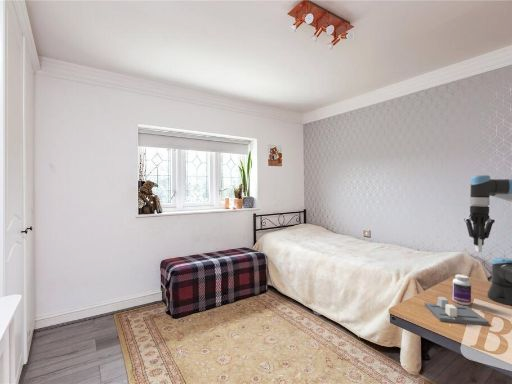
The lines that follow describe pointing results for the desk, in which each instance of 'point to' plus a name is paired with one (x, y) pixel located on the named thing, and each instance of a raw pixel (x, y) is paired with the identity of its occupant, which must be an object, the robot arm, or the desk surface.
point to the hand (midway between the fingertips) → (478, 251)
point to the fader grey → (442, 302)
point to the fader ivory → (451, 310)
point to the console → (463, 314)
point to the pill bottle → (461, 290)
